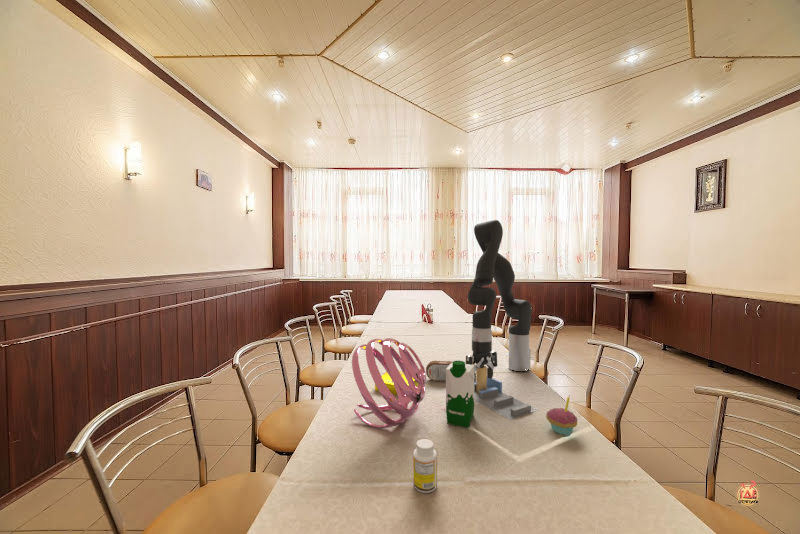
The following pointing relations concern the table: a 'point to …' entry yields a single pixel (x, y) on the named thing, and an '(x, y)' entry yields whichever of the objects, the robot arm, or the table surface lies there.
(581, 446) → the table surface
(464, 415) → the milk carton
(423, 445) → the supplement bottle
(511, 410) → the slotted grey board
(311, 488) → the table surface
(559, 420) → the cupcake
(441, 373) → the tin
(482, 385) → the yellow bottle
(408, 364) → the spiral basket
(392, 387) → the element tile
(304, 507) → the table surface
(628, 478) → the table surface
